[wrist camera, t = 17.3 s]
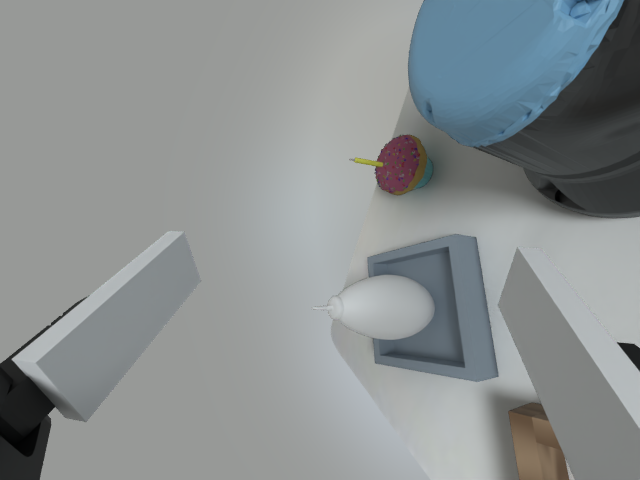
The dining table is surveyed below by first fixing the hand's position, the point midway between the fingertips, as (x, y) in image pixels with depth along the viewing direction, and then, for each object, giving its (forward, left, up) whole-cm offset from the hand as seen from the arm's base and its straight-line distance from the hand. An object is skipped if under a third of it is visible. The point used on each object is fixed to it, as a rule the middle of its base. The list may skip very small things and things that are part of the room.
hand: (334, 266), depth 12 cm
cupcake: (-19, -18, -29) cm, 39 cm away
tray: (+1, -19, -29) cm, 34 cm away
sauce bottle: (+1, -19, -28) cm, 33 cm away
